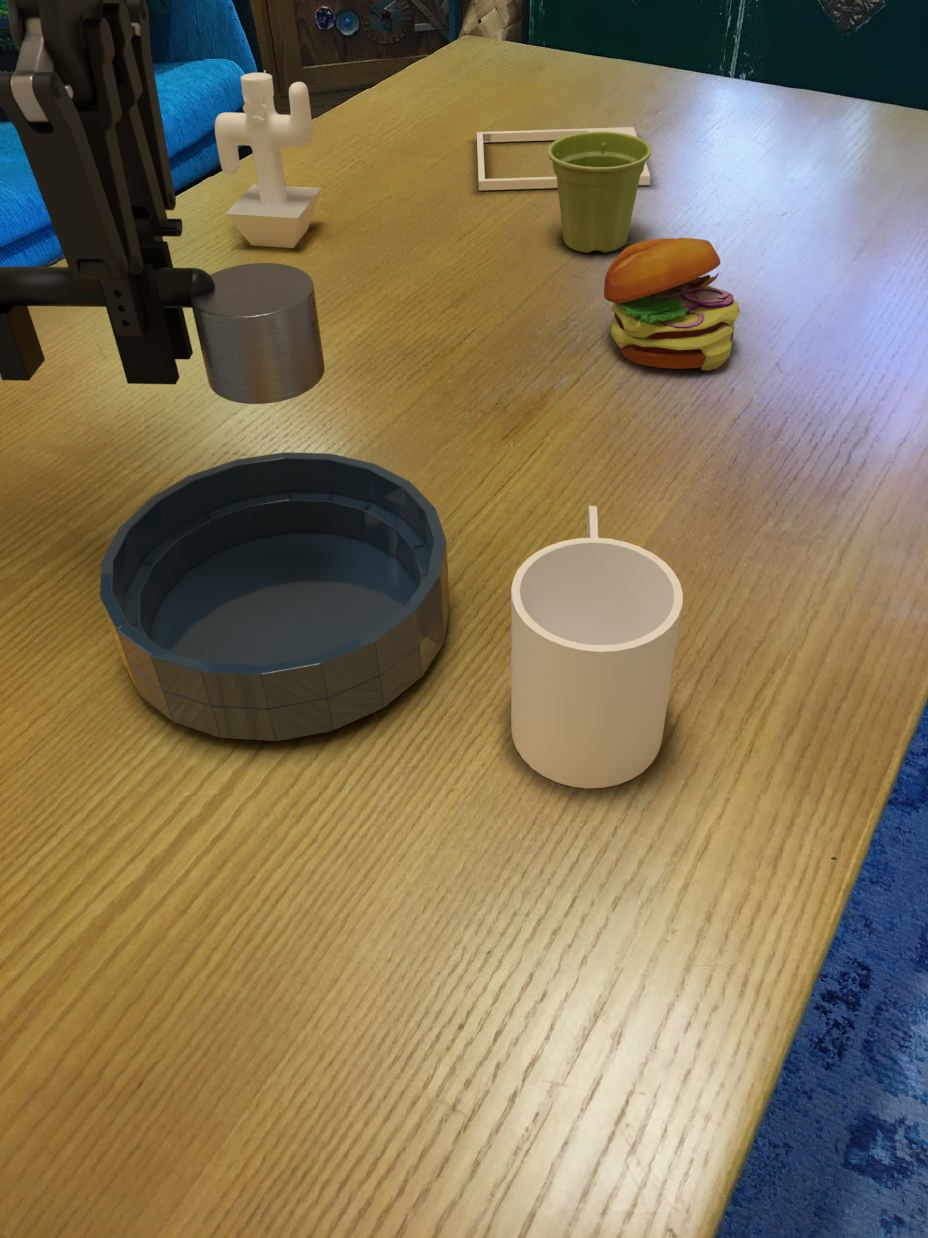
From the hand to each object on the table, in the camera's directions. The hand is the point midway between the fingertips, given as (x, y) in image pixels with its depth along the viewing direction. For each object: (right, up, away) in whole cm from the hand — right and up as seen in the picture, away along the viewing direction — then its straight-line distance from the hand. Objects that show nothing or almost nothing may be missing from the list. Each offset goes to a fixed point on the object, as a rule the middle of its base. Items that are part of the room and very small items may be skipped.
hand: (160, 367), depth 59 cm
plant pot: (+29, +22, +44) cm, 57 cm away
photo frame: (+27, +36, +58) cm, 74 cm away
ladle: (0, 0, 0) cm, 0 cm away
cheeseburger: (+34, +8, +29) cm, 45 cm away
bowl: (+6, -14, +6) cm, 17 cm away
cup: (+24, -19, 0) cm, 30 cm away
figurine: (-1, +24, +47) cm, 52 cm away
